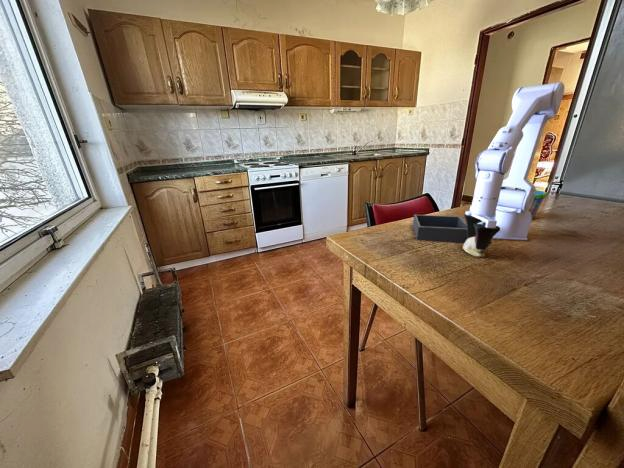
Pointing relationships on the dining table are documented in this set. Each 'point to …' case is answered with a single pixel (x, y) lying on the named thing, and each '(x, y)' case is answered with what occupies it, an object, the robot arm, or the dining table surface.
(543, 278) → the dining table surface
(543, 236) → the dining table surface
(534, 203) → the snack cup
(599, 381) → the dining table surface
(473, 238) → the chocolate bunny
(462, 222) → the bin
